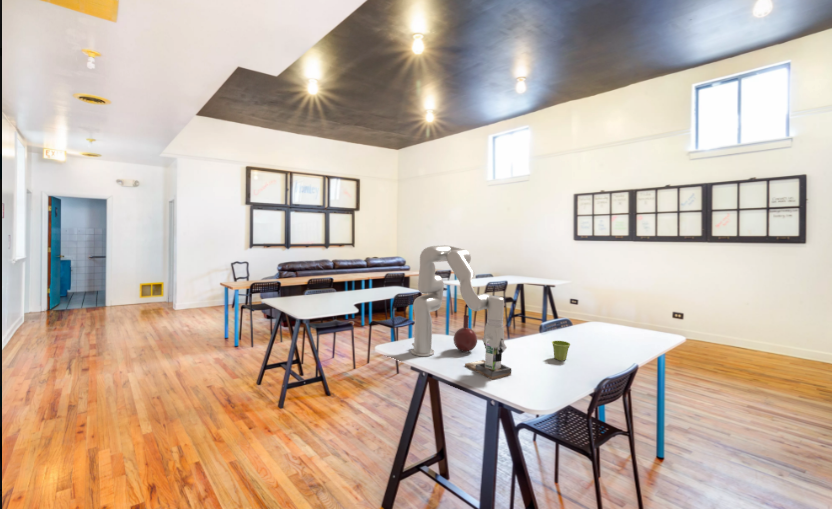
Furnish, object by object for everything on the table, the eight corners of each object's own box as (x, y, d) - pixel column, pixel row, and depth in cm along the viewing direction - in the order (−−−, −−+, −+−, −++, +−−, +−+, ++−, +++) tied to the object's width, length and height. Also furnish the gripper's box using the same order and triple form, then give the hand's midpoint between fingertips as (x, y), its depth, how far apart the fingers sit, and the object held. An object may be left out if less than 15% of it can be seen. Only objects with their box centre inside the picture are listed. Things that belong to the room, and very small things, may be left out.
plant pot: (570, 362, 223) (571, 346, 222) (552, 360, 225) (552, 344, 224) (568, 356, 232) (569, 341, 231) (550, 355, 234) (550, 339, 233)
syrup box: (484, 367, 204) (485, 337, 203) (491, 364, 208) (493, 335, 207) (494, 370, 200) (495, 340, 199) (501, 367, 204) (502, 338, 203)
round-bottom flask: (476, 355, 230) (478, 319, 228) (452, 353, 232) (453, 317, 230) (477, 348, 242) (478, 314, 241) (453, 346, 244) (455, 312, 243)
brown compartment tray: (465, 366, 213) (465, 359, 213) (483, 362, 219) (483, 356, 219) (492, 379, 196) (492, 372, 196) (511, 374, 202) (511, 368, 202)
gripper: (477, 319, 208) (475, 354, 209) (501, 327, 193) (499, 365, 195) (488, 317, 212) (487, 352, 213) (513, 325, 197) (511, 363, 199)
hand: (493, 358), depth 204 cm, fingers closed on syrup box, 6 cm apart
